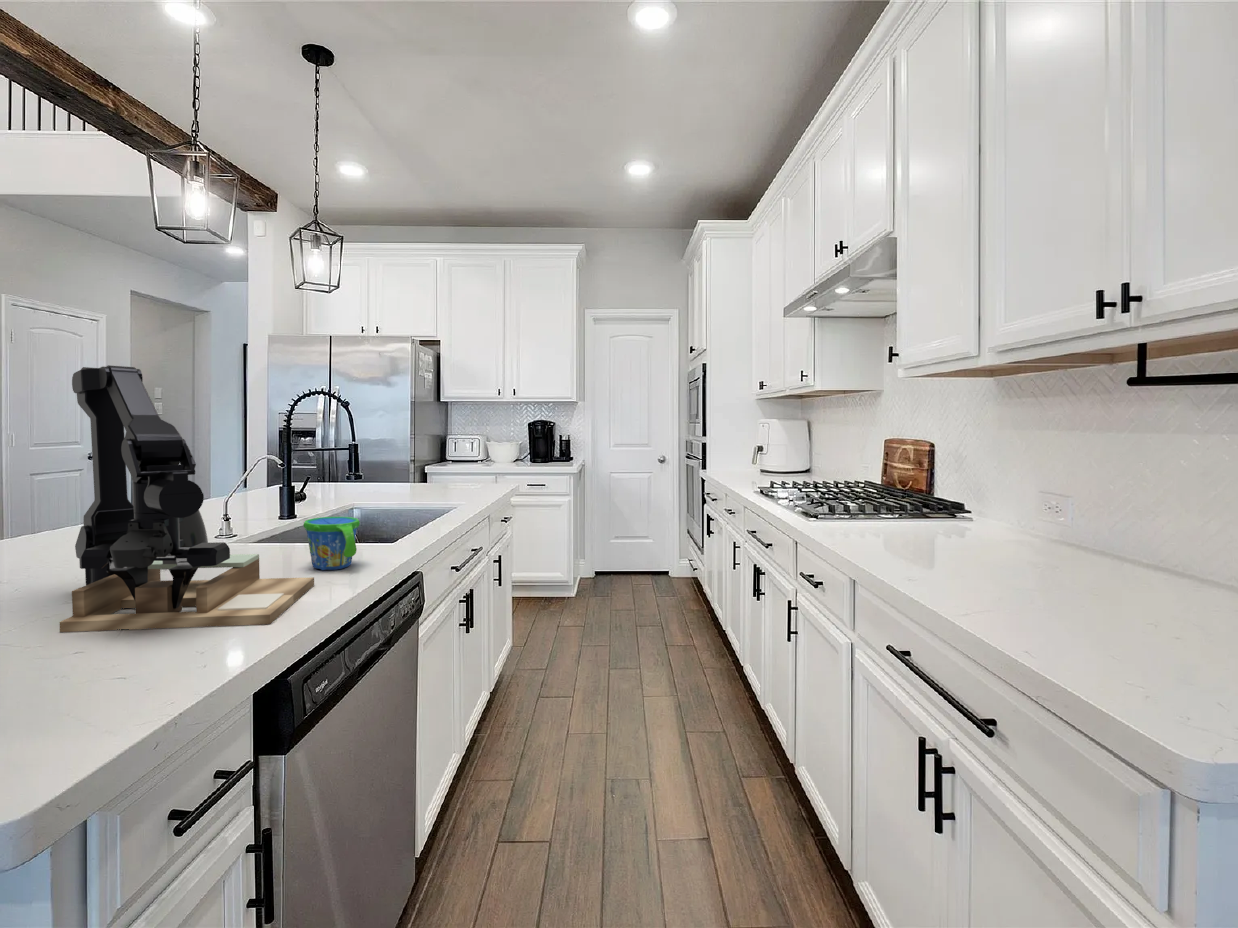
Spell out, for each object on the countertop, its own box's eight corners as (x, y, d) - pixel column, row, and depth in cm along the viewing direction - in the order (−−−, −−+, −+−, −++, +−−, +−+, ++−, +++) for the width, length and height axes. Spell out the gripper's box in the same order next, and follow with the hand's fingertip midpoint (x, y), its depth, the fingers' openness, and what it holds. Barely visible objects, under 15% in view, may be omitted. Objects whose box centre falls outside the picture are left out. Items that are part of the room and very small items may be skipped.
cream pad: (217, 610, 96) (217, 608, 96) (238, 596, 104) (238, 594, 103) (266, 609, 97) (266, 607, 97) (283, 595, 105) (283, 593, 105)
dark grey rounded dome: (144, 571, 124) (142, 497, 123) (155, 561, 134) (153, 491, 133) (204, 567, 129) (203, 495, 128) (211, 557, 138) (209, 490, 137)
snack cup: (372, 569, 130) (372, 522, 129) (320, 578, 122) (319, 527, 122) (342, 557, 141) (342, 513, 140) (293, 564, 133) (292, 517, 133)
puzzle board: (59, 632, 89) (58, 594, 89) (148, 589, 112) (147, 559, 111) (270, 624, 94) (269, 588, 94) (314, 585, 117) (313, 556, 117)
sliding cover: (119, 569, 103) (118, 550, 103) (142, 560, 110) (142, 542, 110) (243, 567, 107) (243, 548, 106) (259, 558, 113) (258, 540, 113)
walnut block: (135, 619, 95) (134, 588, 95) (151, 611, 100) (150, 580, 99) (167, 618, 96) (166, 587, 96) (182, 610, 100) (181, 580, 100)
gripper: (51, 519, 87) (55, 627, 88) (198, 518, 91) (200, 622, 92) (101, 508, 98) (104, 604, 99) (230, 508, 102) (232, 600, 103)
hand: (159, 608), depth 98 cm, fingers closed on walnut block, 4 cm apart
